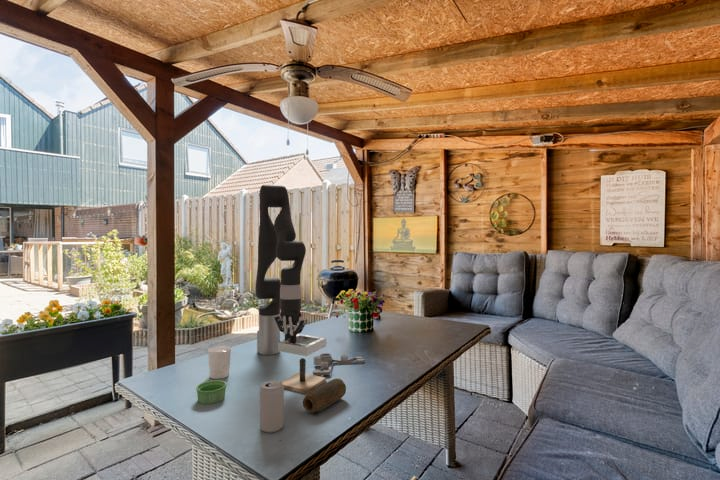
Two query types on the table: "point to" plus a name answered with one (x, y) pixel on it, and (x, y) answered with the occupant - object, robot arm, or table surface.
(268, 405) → the beverage can
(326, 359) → the pulley system
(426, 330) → the table surface
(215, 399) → the ramekin
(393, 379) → the table surface
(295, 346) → the link
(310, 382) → the wooden board with peg
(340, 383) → the brown cylinder
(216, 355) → the white cup
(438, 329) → the table surface
